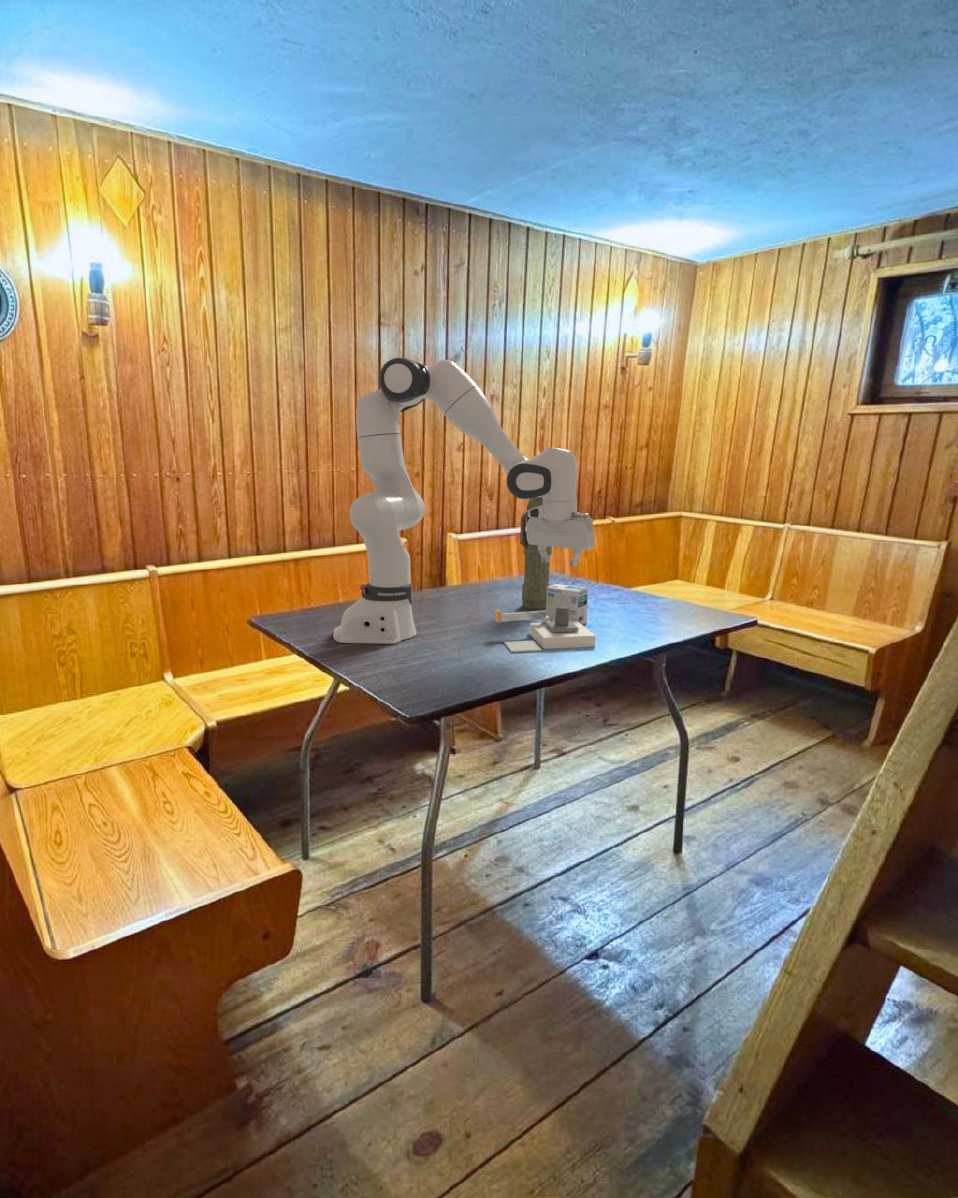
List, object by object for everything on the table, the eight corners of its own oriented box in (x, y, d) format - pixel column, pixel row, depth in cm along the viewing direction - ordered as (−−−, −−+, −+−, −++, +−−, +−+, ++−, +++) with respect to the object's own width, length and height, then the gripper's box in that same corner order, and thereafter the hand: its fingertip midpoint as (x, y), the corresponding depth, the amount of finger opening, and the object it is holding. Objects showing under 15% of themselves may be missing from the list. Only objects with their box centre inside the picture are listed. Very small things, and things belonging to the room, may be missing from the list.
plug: (552, 644, 180) (553, 611, 178) (545, 636, 187) (546, 605, 185) (577, 643, 182) (579, 610, 179) (569, 635, 188) (570, 604, 186)
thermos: (512, 606, 220) (515, 496, 212) (542, 602, 226) (546, 495, 218) (528, 612, 212) (532, 499, 204) (558, 608, 218) (563, 498, 210)
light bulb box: (587, 623, 202) (589, 587, 199) (577, 628, 196) (579, 591, 194) (555, 617, 207) (556, 582, 205) (544, 622, 202) (545, 586, 199)
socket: (543, 648, 176) (544, 637, 176) (529, 633, 190) (529, 623, 189) (594, 646, 179) (595, 635, 178) (577, 631, 192) (577, 621, 192)
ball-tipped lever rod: (547, 621, 190) (548, 606, 189) (550, 623, 188) (551, 608, 187) (494, 624, 186) (495, 609, 185) (497, 627, 184) (497, 611, 182)
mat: (511, 652, 173) (511, 651, 172) (504, 643, 180) (504, 641, 180) (542, 651, 174) (542, 649, 174) (533, 642, 182) (533, 640, 182)
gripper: (600, 512, 172) (599, 566, 175) (538, 508, 186) (538, 558, 189) (584, 514, 167) (584, 570, 170) (522, 510, 182) (522, 561, 185)
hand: (559, 564), depth 180 cm, fingers open, 8 cm apart
